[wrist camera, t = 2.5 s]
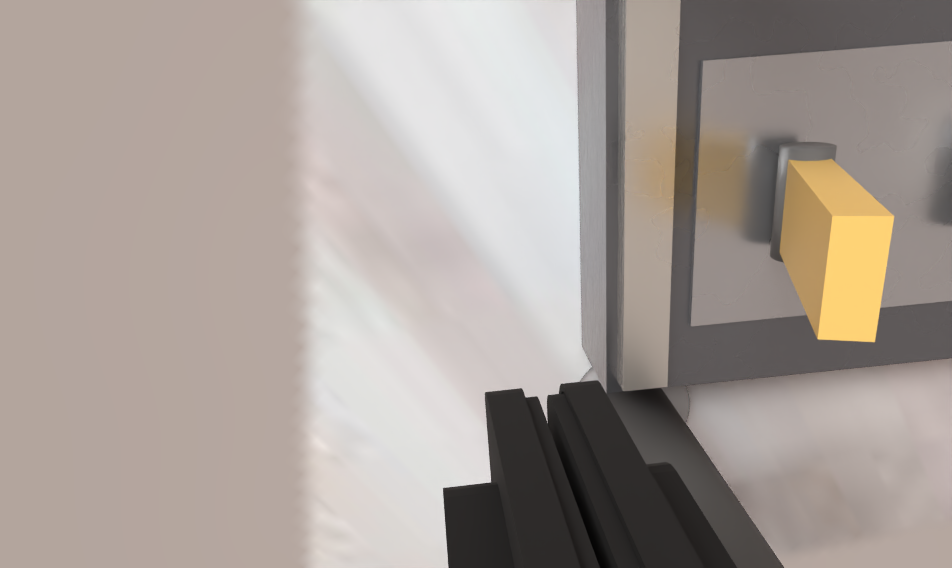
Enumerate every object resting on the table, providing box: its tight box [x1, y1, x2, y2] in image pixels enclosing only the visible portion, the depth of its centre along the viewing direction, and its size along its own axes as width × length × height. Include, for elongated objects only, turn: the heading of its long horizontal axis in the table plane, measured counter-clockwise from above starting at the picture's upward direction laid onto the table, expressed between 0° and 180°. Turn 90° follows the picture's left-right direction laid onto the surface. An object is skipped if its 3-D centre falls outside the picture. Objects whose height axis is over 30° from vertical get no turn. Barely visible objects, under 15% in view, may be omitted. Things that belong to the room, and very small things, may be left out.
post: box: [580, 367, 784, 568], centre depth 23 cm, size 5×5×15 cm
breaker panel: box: [576, 0, 952, 394], centre depth 24 cm, size 16×14×5 cm
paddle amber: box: [770, 142, 894, 342], centre depth 19 cm, size 2×4×8 cm, turn 4°
